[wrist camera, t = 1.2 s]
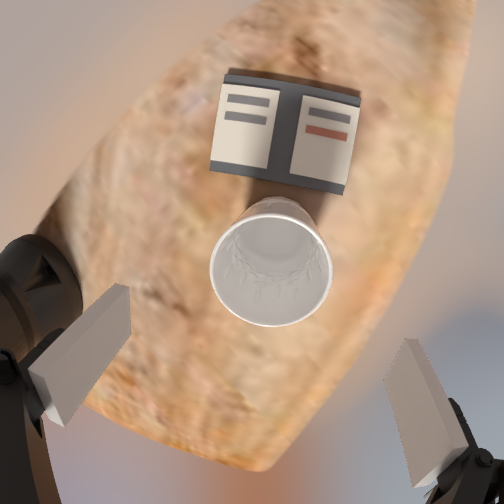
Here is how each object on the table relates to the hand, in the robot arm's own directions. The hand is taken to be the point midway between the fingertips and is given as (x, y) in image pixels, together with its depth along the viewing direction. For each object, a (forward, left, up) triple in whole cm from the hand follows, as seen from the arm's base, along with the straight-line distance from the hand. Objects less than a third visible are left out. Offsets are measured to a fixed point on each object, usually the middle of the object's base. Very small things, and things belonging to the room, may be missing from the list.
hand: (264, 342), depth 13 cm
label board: (-1, +9, -17) cm, 19 cm away
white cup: (0, 0, -17) cm, 17 cm away
